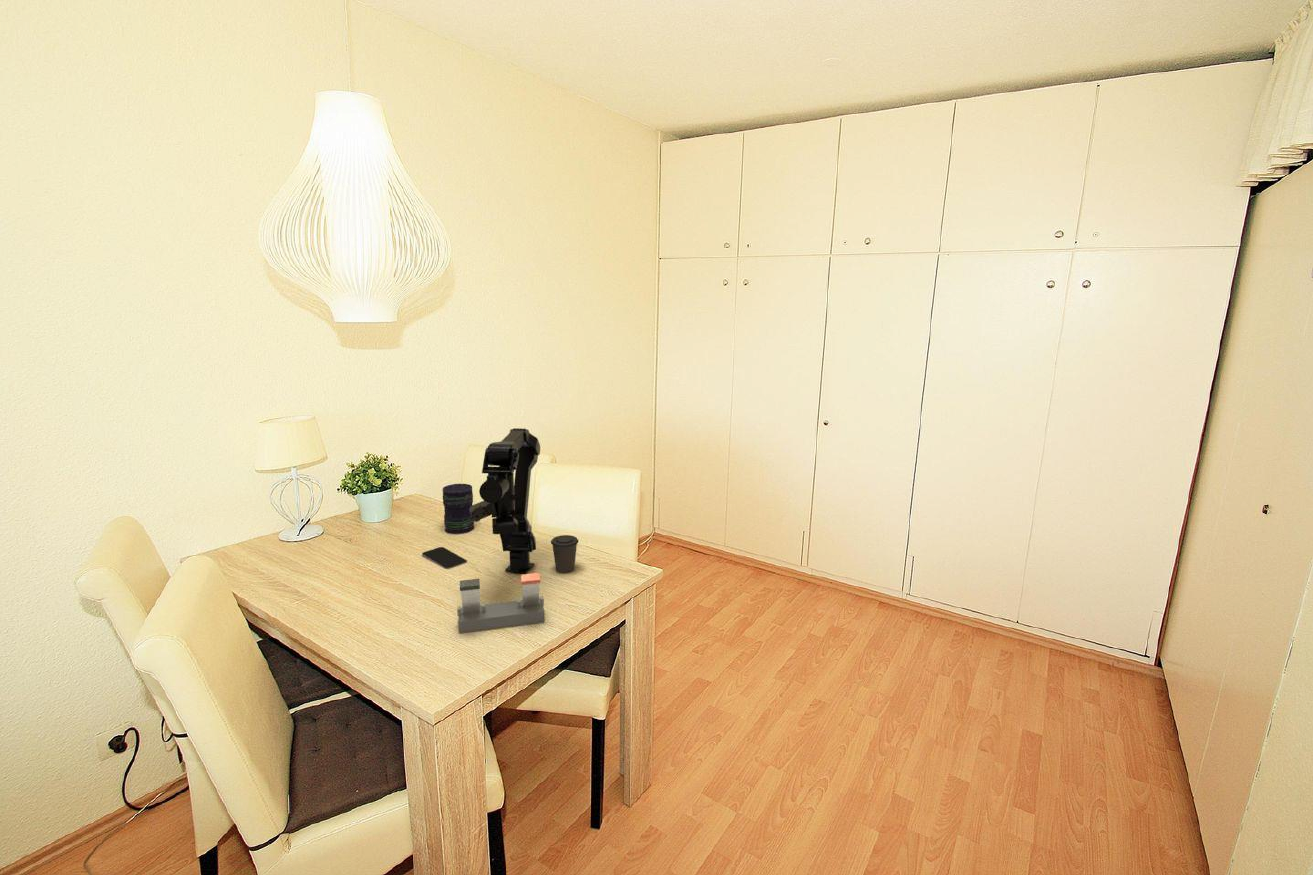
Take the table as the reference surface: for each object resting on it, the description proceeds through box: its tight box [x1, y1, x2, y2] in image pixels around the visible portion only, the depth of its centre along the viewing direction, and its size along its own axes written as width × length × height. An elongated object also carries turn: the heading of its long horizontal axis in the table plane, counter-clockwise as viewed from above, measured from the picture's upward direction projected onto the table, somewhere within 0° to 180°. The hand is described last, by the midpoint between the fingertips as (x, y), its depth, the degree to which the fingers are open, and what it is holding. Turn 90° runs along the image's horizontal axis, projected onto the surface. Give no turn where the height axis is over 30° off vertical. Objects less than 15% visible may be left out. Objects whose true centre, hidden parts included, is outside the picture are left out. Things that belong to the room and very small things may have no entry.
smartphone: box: [421, 546, 468, 570], centre depth 178 cm, size 7×1×15 cm
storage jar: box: [442, 483, 475, 535], centre depth 200 cm, size 10×10×15 cm
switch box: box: [456, 595, 545, 634], centre depth 143 cm, size 7×20×5 cm, turn 107°
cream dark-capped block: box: [459, 578, 481, 614], centre depth 139 cm, size 2×4×9 cm, turn 107°
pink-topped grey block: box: [520, 572, 541, 606], centre depth 142 cm, size 2×4×9 cm, turn 107°
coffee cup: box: [550, 534, 579, 574], centre depth 171 cm, size 8×8×10 cm
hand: (505, 546), depth 155 cm, fingers closed
